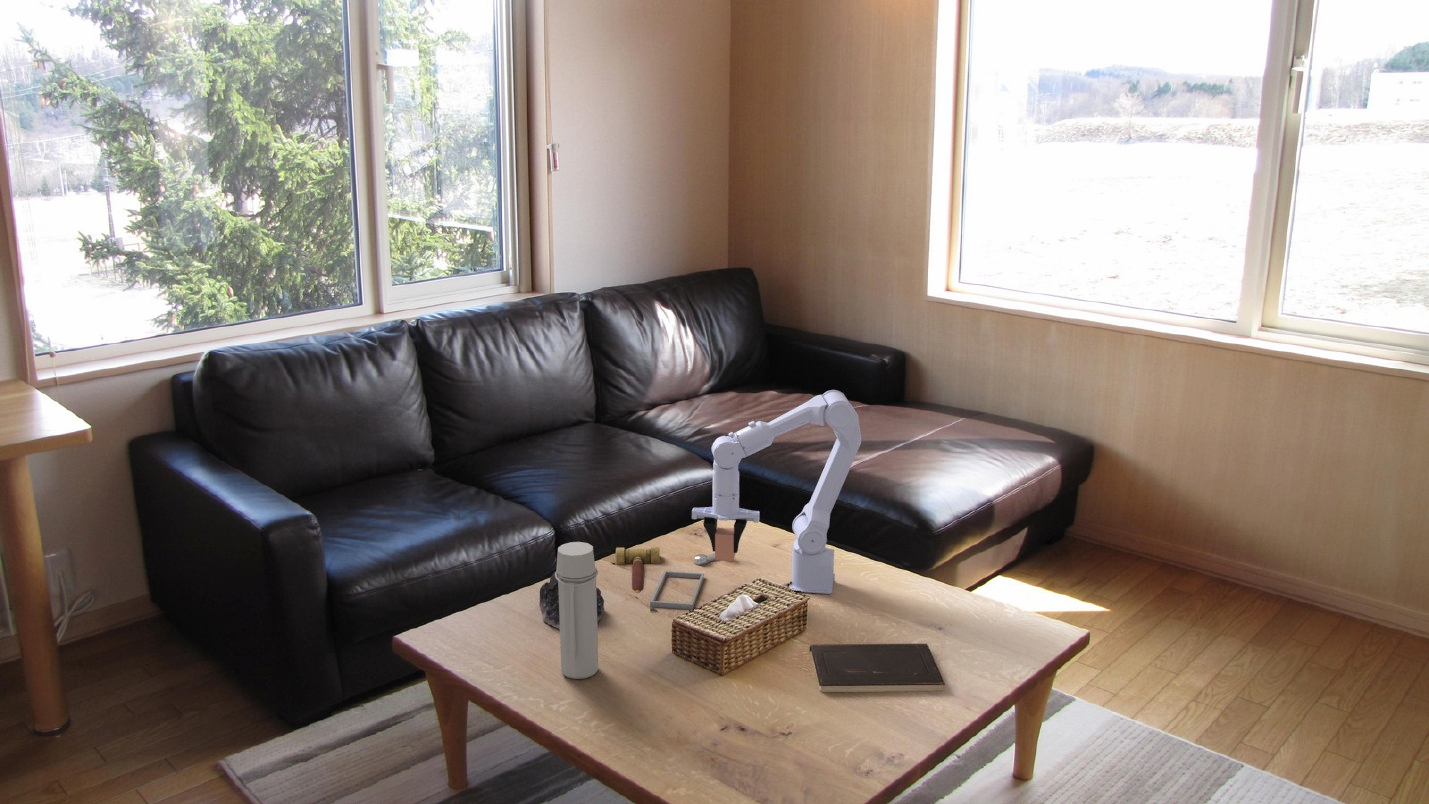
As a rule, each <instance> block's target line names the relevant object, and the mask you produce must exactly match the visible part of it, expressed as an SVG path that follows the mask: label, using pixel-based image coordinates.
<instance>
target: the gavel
mask: <svg viewBox="0 0 1429 804" xmlns="http://www.w3.org/2000/svg"><path fill="white" fill-rule="evenodd" d="M660 555H661V553H660V547H659V546H651V547H650V548H649V549H648V548H628V549H626V548H625V547H616V548H615V565H625V564H632V566H631V567H632V568H631V590H633V591H634V592H635V593H636V594H637V593H641V591H642V590H643V589H644V564H660V563H661V562H660V557H661V556H660ZM635 599H639V597H637V596H635Z"/></svg>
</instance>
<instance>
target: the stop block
mask: <svg viewBox="0 0 1429 804" xmlns="http://www.w3.org/2000/svg"><path fill="white" fill-rule="evenodd" d="M714 553H715V560H714V561H726V562H734V560H735V557H736V554H737V553H734V527H719V526H717V531H716V533H715V552H714Z"/></svg>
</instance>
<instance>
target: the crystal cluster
mask: <svg viewBox="0 0 1429 804" xmlns="http://www.w3.org/2000/svg"><path fill="white" fill-rule="evenodd" d="M555 573H556V571H554V572H553V573H552V575H551V576H550V578H549V581H546V582H544V583H543V584H542V585H541V587H540V588H539V605H538V606H539V608H540V609H539V610H540V612H541V616H542V617H541V618H542V621H543V622H544V623H547V624H548V625H551V626H552V627H554V628H556V629H558V630H560V617H559V588H558V580H557V579H556V577H555ZM557 577H558V574H557ZM596 593H597V622H598V621H600V619H602V615H603V614H604V613H605V608H604V607H605V606H604V604H605V600H604V598H603V596H602V595H601V594H602V591H601V589H600V588H599V587H597V586H596Z"/></svg>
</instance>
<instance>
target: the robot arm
mask: <svg viewBox="0 0 1429 804" xmlns="http://www.w3.org/2000/svg"><path fill="white" fill-rule="evenodd" d="M859 420H860V419H859V415H858V413H857V411H856V410H855V408H854V406H853V405H852V404H851V403H850V401H849V400H848V399H847V397H846V395H845V394H844V392H841V391H840V390H836V389H831V390H827V391H825V392H824V393H823V394H818V395H815V396H813V397H812V398H811V399H809V400H807V401H806V402H804V403H802V404H800V405H799V406H797V407H794V408H793V409H791V410H789V411H787V412H785V413H784V414H782V415H780V416H778V417H776V418H775V419H772V420H770V421H769V422H766V421H761V420H759V421H756V422H755V421H754V420H752V421H750V422H748V425H747V426H746V427H743V428H741V429H740V430H738V431H736V432H733V431H731V432H729V433H728V435H727V436H726V435H721V436H719V437H717V438H716V439H715V440H714V441H713V443H712V445H711V448H710V449H711V450H710V451H711V453H712V455H713V464H712V466H713V470H712V506H709V507H707V506H706V507H693V508H692V510H691V519H692V520H698V519H703V523H702V524H703V528H704V530H705V531H706V533H707V535H708V538H709V540H710V544H711V548H712V552H714V553H715V533H716V531H717V528H718V521H724V522H727V521H735V522H734V524H733V528H734V553H736V554H737V553H738V551H739V544H740V541H741V537H742V534H743V533H744V531H745V529H746V527H747V523H748V522H753V523H756V524H758V523H759V522H760V511H759V510H751V509H746V508H741V507H740V471H739V464H740V462H741V461H742V459H743V458H746V457H750V456H751V455H752V454H753V455H754V454H755V453H758V452H759V451H762V450H763V449H766V448H767V447H770V446H771V445H772V444H773V441H774V439H775V437H778V436H781V435H783V434H785V433H788V432H790V431H792V430H795V429H797V428H799V427H801V426H804V425H807V424H811V425H817V426H821V427H824V426H825V423H824V422H826V423H827V425H828V426H829V427H830V428H831V429H832V430H833V433H834V435H835V437H836V440H835V442H834V443H833V447H832V449H831V451H830V453H829V456H828V458H827V460H826V463H825V465H824V468H823V470H822V472H821V475H820V477H819V479H818V481H817V484H816V486H815V489H814V491H813V493H812V495H811V498H810V500H809V502H808V503H807V504H805V505H804V507H803V509H802V511H801V512H800V513H799V514H798V515H796V517H794V519H793V521H792V526H791V527H792V532H793V533H794V535H795V540H794V542H793V543H792V549H791V550H792V555H791V556H792V557H791V581H789V585H788V588H789V587H791V588H792V589H794V590H797V591H801V592H800V593H810V594H811V593H813V594H824V595H825V594H827V595H829V594H830V595H831V594H833V586H834V582H835V581H836V580H835V578H836V573H834V571H835V549H833V548H828V547H826V545H827V542H828V538H827V533H828V530H829V528H830V519H831V513H832V510H833V509H834V506H835V504H836V501H837V499H838V497H839V495H840V493H841V490H842V487H843V485H844V483H845V481H846V478H847V477H848V474H849V472H850V469H851V467H852V465H853V463H854V460H855V458H856V455H857V453H858V452H859V449H860V447H861V444H862V440H863V439H862V433H861V427H860V422H859ZM790 585H791V586H790Z"/></svg>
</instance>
